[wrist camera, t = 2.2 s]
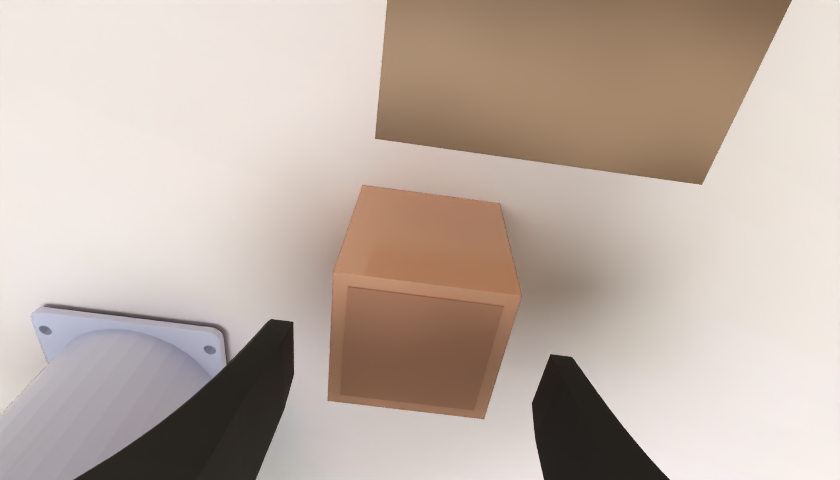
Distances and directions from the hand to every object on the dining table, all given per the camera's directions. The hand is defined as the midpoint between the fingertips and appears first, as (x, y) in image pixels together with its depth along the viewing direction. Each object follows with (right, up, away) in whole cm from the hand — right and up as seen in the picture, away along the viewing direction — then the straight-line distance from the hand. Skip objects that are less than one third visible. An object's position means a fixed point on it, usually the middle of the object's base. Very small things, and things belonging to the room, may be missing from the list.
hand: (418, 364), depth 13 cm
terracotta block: (0, +3, +5) cm, 6 cm away
